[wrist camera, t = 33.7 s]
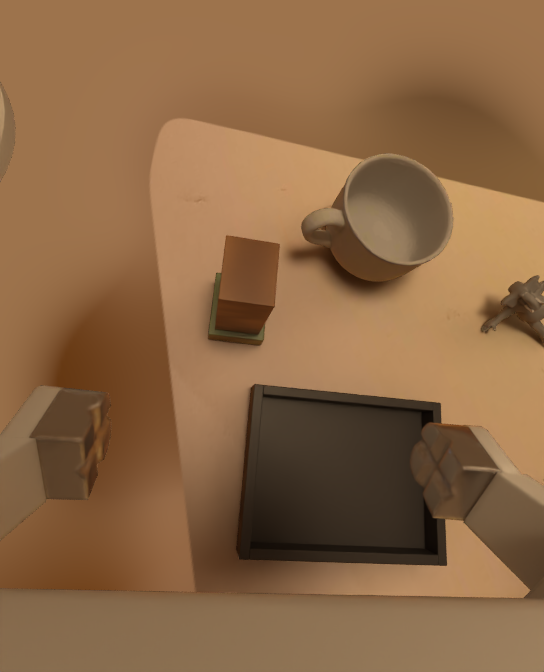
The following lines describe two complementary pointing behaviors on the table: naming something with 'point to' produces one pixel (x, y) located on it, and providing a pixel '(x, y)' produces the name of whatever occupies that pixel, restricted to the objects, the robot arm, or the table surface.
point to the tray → (335, 480)
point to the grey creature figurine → (523, 305)
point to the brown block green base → (244, 291)
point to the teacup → (384, 219)
